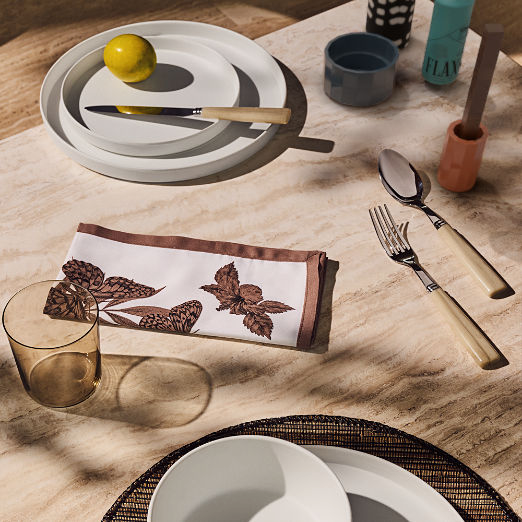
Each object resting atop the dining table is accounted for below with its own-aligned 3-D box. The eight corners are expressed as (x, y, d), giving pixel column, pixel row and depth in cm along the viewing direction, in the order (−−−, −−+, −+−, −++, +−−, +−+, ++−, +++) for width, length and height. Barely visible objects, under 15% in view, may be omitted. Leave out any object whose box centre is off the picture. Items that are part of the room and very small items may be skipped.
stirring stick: (462, 170, 102) (501, 23, 84) (465, 179, 101) (505, 32, 83) (448, 171, 102) (484, 23, 84) (451, 180, 101) (488, 32, 83)
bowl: (388, 66, 122) (393, 30, 116) (398, 107, 114) (404, 71, 108) (320, 68, 122) (322, 33, 116) (325, 110, 114) (327, 74, 108)
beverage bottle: (415, 88, 117) (434, -25, 102) (423, 68, 121) (443, -44, 106) (453, 96, 115) (478, -18, 100) (460, 75, 119) (486, -38, 104)
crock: (470, 166, 104) (483, 118, 97) (478, 191, 100) (493, 143, 93) (433, 167, 104) (444, 119, 97) (440, 192, 100) (452, 144, 93)
